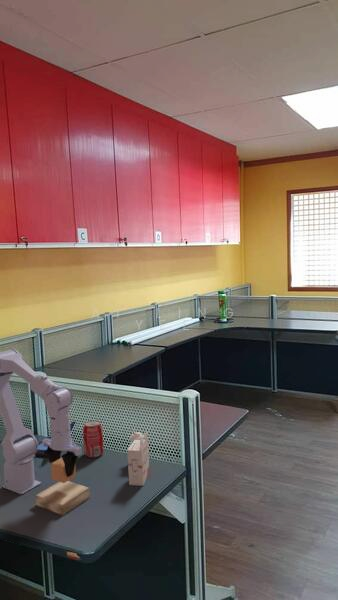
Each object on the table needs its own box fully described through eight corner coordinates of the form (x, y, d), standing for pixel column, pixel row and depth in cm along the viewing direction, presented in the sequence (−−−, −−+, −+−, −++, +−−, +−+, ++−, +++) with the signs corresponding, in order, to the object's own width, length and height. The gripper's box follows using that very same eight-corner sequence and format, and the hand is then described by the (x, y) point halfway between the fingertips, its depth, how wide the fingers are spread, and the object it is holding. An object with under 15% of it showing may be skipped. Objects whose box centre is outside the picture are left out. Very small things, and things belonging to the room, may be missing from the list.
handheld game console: (48, 439, 185) (46, 417, 184) (77, 442, 182) (76, 419, 181) (25, 456, 170) (23, 432, 170) (57, 459, 167) (56, 435, 166)
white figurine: (128, 460, 164) (126, 427, 163) (137, 456, 166) (136, 424, 165) (141, 468, 156) (140, 435, 155) (151, 465, 159) (149, 432, 158)
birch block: (36, 506, 136) (35, 495, 136) (63, 489, 145) (63, 479, 145) (63, 516, 130) (62, 505, 130) (89, 498, 139) (89, 487, 139)
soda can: (94, 449, 174) (92, 418, 173) (107, 453, 170) (106, 421, 169) (80, 455, 169) (78, 424, 167) (94, 460, 164) (92, 428, 163)
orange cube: (51, 479, 137) (51, 463, 136) (64, 472, 141) (63, 456, 141) (64, 483, 134) (63, 466, 134) (76, 476, 138) (75, 460, 138)
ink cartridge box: (135, 472, 154) (133, 430, 153) (149, 473, 153) (148, 431, 152) (128, 485, 146) (126, 440, 144) (143, 486, 145) (141, 441, 143)
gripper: (88, 429, 135) (90, 473, 137) (53, 420, 143) (55, 462, 145) (71, 437, 130) (73, 483, 131) (35, 428, 137) (38, 471, 139)
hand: (63, 473), depth 137 cm, fingers closed on orange cube, 5 cm apart
